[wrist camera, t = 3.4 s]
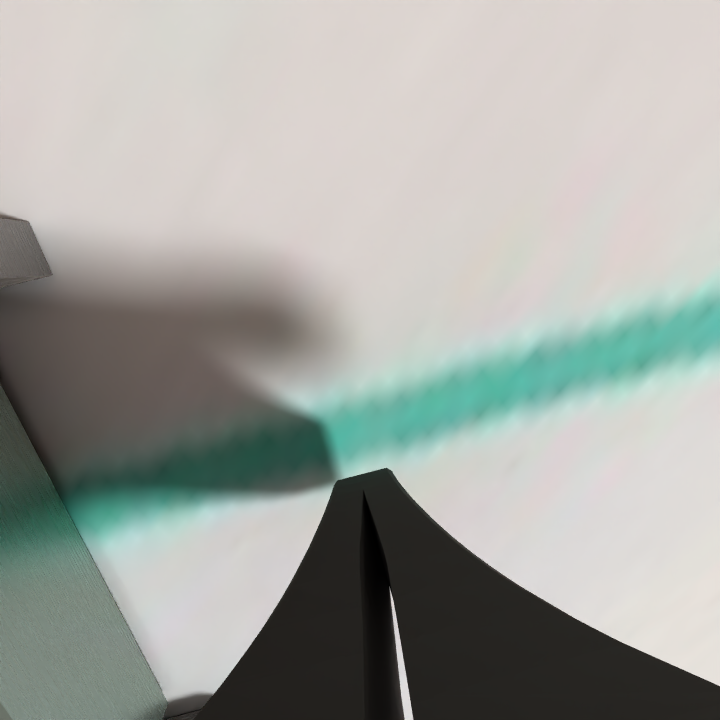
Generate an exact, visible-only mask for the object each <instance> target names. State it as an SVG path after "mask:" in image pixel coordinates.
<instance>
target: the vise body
mask: <svg viewBox="0 0 720 720" xmlns="http://www.w3.org/2000/svg"><path fill="white" fill-rule="evenodd" d="M51 275H52V272H51V270H50V268H49V266H48V263H47V261H46V259H45V257H44V255H43V252H42V250H41V248H40V246H39V243H38V241H37V239H36V237H35V234H34V232H33V230H32V228H31V226H30V223H29V222H28V221H20V220H12V219H3V218H0V288H2V287H6V286H10V285H14V284H18V283H23V282H27V281H31V280H35V279H39V278H43V277H47V276H51ZM200 711H201V710H198V711H194V712H191V713H187V714H183V715H180V716H176V717H172V718H169V719H165V720H193V719H194V718H195V717H196V716H197V714H198V713H199V712H200Z"/></svg>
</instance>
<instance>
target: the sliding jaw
mask: <svg viewBox="0 0 720 720" xmlns="http://www.w3.org/2000/svg"><path fill="white" fill-rule="evenodd" d="M167 706H168V702H167V700H166V698H165V696H164V695H163V693H162V691H161V689H160V687H159V685H158V683H157V681H156V679H155V677H154V676H153V674H152V672H151V670H150V668H149V666H148V664H147V662H146V660H145V658H144V656H143V655H142V653H141V651H140V649H139V647H138V645H137V643H136V641H135V639H134V637H133V636H132V634H131V632H130V630H129V628H128V626H127V624H126V622H125V620H124V618H123V616H122V615H121V613H120V611H119V609H118V607H117V605H116V603H115V601H114V599H113V597H112V596H111V594H110V592H109V590H108V588H107V586H106V584H105V582H104V580H103V578H102V576H101V575H100V573H99V571H98V569H97V567H96V565H95V563H94V561H93V559H92V557H91V556H90V554H89V552H88V550H87V548H86V546H85V544H84V542H83V540H82V538H81V536H80V535H79V533H78V531H77V529H76V527H75V525H74V523H73V521H72V519H71V517H70V516H69V514H68V512H67V510H66V508H65V506H64V504H63V502H62V500H61V498H60V496H59V495H58V493H57V491H56V489H55V487H54V485H53V483H52V481H51V479H50V477H49V475H48V474H47V472H46V470H45V468H44V466H43V464H42V462H41V460H40V458H39V456H38V455H37V453H36V451H35V449H34V447H33V445H32V443H31V441H30V439H29V437H28V435H27V434H26V432H25V430H24V428H23V426H22V424H21V422H20V420H19V418H18V416H17V415H16V413H15V411H14V409H13V407H12V405H11V403H10V401H9V399H8V397H7V395H6V394H5V392H4V390H3V388H2V386H1V384H0V720H163V717H164V714H165V711H166V708H167Z"/></svg>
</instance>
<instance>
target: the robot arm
mask: <svg viewBox="0 0 720 720" xmlns="http://www.w3.org/2000/svg"><path fill="white" fill-rule="evenodd" d="M389 587H390V589H389ZM390 590H391V593H392V597H393V600H394V605H395V611H396V617H397V623H398V628H399V634H400V640H401V646H402V652H403V658H404V664H405V670H406V676H407V682H408V688H409V694H410V700H411V706H412V713H413V719H414V720H720V686H718V685H716V684H713V683H711V682H709V681H707V680H704V679H702V678H700V677H698V676H696V675H693V674H691V673H689V672H687V671H684V670H682V669H680V668H678V667H675V666H673V665H671V664H669V663H666V662H664V661H662V660H660V659H657V658H655V657H653V656H651V655H648V654H646V653H644V652H642V651H639V650H637V649H635V648H633V647H630V646H628V645H626V644H624V643H622V642H620V641H618V640H616V639H613V638H611V637H609V636H608V635H606V634H604V633H602V632H600V631H598V630H596V629H594V628H592V627H590V626H588V625H586V624H584V623H582V622H581V621H579V620H577V619H575V618H573V617H572V616H570V615H568V614H566V613H565V612H563V611H561V610H560V609H558V608H556V607H554V606H553V605H551V604H549V603H548V602H546V601H544V600H543V599H541V598H539V597H537V596H536V595H534V594H532V593H531V592H529V591H527V590H525V589H524V588H522V587H521V586H519V585H517V584H516V583H514V582H513V581H511V580H510V579H508V578H507V577H505V576H504V575H502V574H501V573H499V572H498V571H497V570H495V569H494V568H492V567H491V566H489V565H488V564H487V563H485V562H484V561H483V560H481V559H480V558H478V557H477V556H476V555H474V554H473V553H472V552H471V551H469V550H468V549H467V548H465V547H464V546H463V545H462V544H460V543H459V542H458V541H457V540H456V539H454V538H453V537H452V536H451V535H450V534H449V533H448V532H446V531H445V530H444V529H443V528H442V527H441V526H440V525H439V524H437V523H436V522H435V521H434V520H433V519H432V518H431V517H430V516H429V515H428V514H427V513H426V512H425V511H424V510H423V509H422V508H421V507H420V506H419V505H418V504H417V503H416V502H415V501H414V500H413V499H412V497H411V496H410V495H409V494H408V493H407V492H406V490H405V489H404V488H403V487H402V486H401V484H400V483H399V482H398V480H397V479H396V477H395V476H394V474H393V472H392V471H391V470H389V469H388V468H384V469H380V470H376V471H372V472H369V473H365V474H361V475H357V476H353V477H349V478H345V479H342V480H338V481H337V482H336V483H335V485H334V487H333V490H332V493H331V496H330V499H329V502H328V504H327V507H326V510H325V512H324V515H323V517H322V520H321V522H320V524H319V526H318V529H317V531H316V533H315V535H314V537H313V540H312V542H311V544H310V546H309V548H308V550H307V552H306V554H305V556H304V558H303V560H302V562H301V564H300V566H299V568H298V569H297V571H296V573H295V575H294V577H293V579H292V581H291V583H290V584H289V586H288V588H287V590H286V591H285V593H284V595H283V596H282V598H281V600H280V601H279V603H278V605H277V606H276V608H275V609H274V611H273V613H272V614H271V616H270V617H269V619H268V620H267V622H266V624H265V625H264V627H263V628H262V630H261V631H260V632H259V634H258V635H257V637H256V638H255V640H254V641H253V642H252V644H251V645H250V647H249V648H248V650H247V651H246V652H245V654H244V655H243V656H242V658H241V659H240V660H239V662H238V663H237V665H236V666H235V667H234V669H233V670H232V671H231V673H230V674H229V675H228V677H227V678H226V679H225V681H224V682H223V683H222V685H221V686H220V687H219V688H218V690H217V691H216V692H215V693H214V695H213V696H212V697H211V698H210V700H209V701H208V702H207V703H206V705H205V706H204V707H203V708H202V709H201V711H200V712H199V713H198V714H197V716H196V717H195V718H194V719H193V720H404V713H403V706H402V699H401V690H400V681H399V671H398V662H397V653H396V644H395V634H394V625H393V616H392V607H391V598H390Z"/></svg>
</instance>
